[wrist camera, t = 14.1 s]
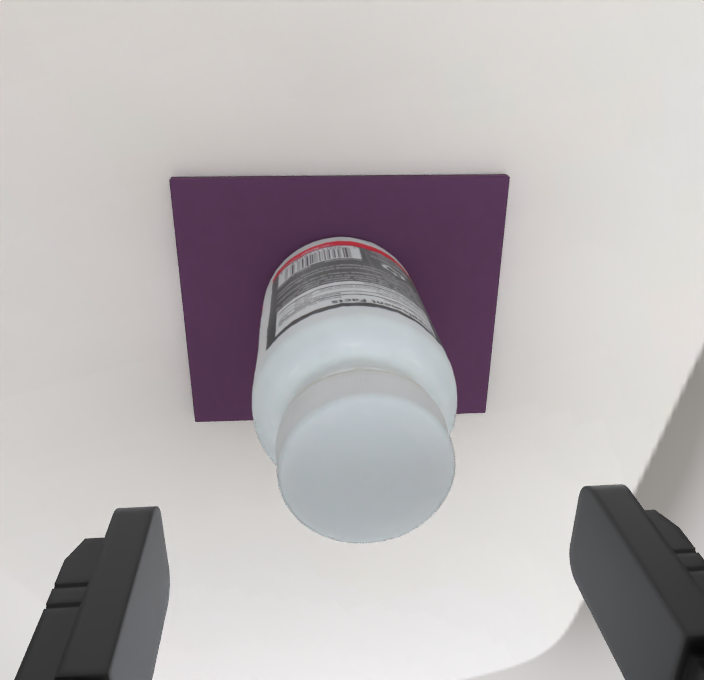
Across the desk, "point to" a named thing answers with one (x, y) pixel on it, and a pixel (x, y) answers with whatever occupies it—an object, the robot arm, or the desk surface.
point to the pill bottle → (353, 393)
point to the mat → (326, 222)
